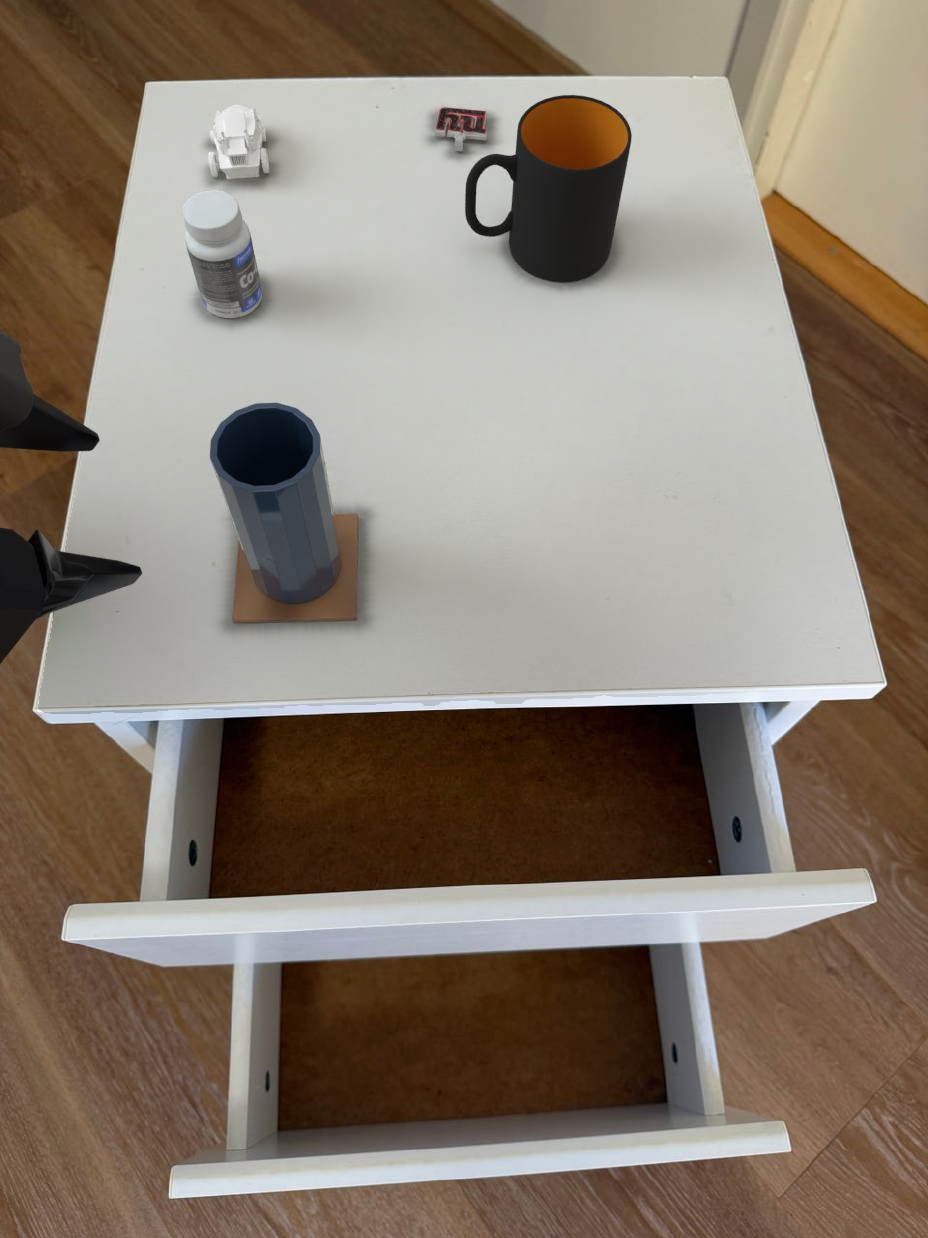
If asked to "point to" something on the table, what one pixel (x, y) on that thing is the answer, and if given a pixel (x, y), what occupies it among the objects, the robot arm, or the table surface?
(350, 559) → the cork coaster
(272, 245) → the table surface
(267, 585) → the cup
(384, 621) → the table surface
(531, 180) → the mug
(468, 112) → the pendant
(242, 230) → the pill bottle
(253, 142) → the toy car
